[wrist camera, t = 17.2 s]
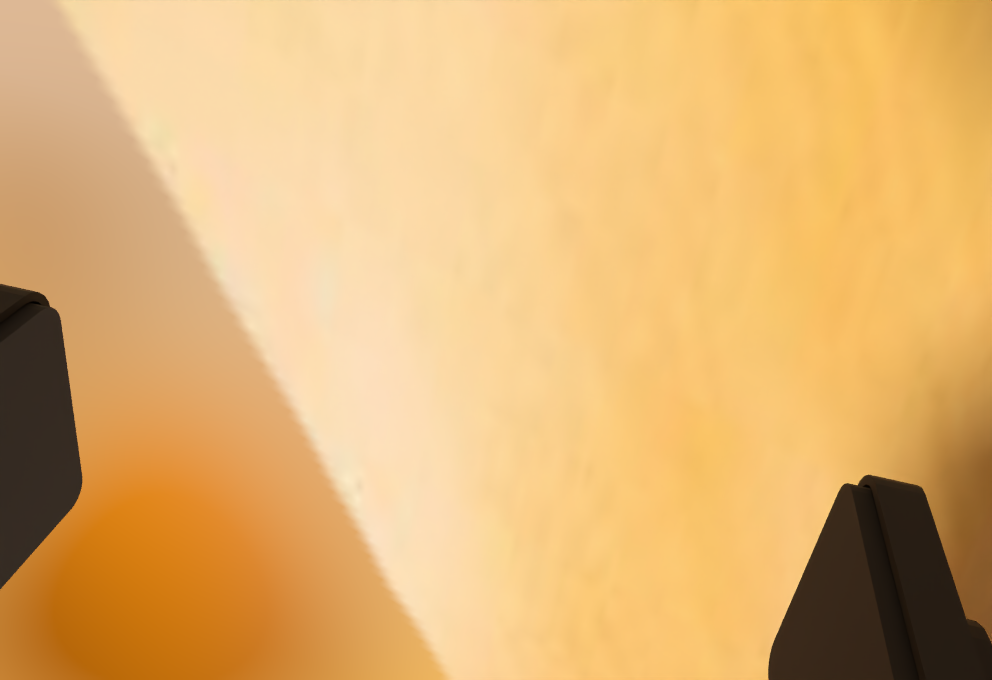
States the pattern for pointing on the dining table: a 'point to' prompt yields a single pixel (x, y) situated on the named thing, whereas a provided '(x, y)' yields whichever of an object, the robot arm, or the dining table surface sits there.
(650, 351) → the dining table surface
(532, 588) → the dining table surface
